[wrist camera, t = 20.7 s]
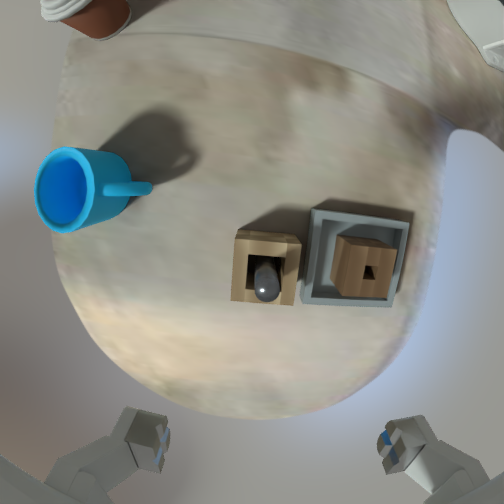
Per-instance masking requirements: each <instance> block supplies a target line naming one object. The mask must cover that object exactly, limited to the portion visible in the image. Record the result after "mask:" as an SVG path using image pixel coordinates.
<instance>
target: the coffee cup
mask: <svg viewBox="0 0 504 504" xmlns="http://www.w3.org/2000/svg"><path fill="white" fill-rule="evenodd" d="M40 3H41V5H42V9H41V15H42V16H43V18H44V19H45V20H46V21H48V22H58V21H61V22H63V23H65V24H67V25H69V26H71V27H72V28H74V29H76V30H78V31H80V32H82V33H84V34H86V35H87V36H89V37H91V38H93V39H94V40H98V41H102V40H107V39H110V38H112V37H113V36H115V35H117V34H118V33H119V32H121V31H122V30H123V29H124V28H125V27H126V25H127V24H128V23H129V21H130V18H131V15H132V11H131V8H130V7H129V5H128V3H127V2H126V0H41V2H40Z"/></svg>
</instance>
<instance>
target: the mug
mask: <svg viewBox="0 0 504 504" xmlns="http://www.w3.org/2000/svg"><path fill="white" fill-rule="evenodd" d="M151 191H152V184H151V183H150V182H141V181H132V179H131V173H130V171H129V168H128V165H127V164H126V163H125V161H124V160H123V159H122V158H121V157H120V156H118V155H116V154H115V153H111V152H105V151H97V150H90V149H81V148H73V147H61V148H58V149H55V150H54V151H52V152H51V153H50V154H49V155H48V156H46V158H45V159H44V161H43V162H42V164H41V165H40V167H39V170H38V173H37V176H36V179H35V187H34V197H35V204H36V207H37V210H38V214H39V215H40V217H41V219H42V220H43V222H44V223H45V224H46V225H47V226H48V227H49V228H50V229H52V230H53V231H56V232H59V233H67V232H73V231H75V230H78V229H81V228H84V227H87V226H90V225H93V224H96V223H99V222H102V221H106V220H109V219H111V218H113V217H115V216H117V215H119V213H120V212H121V211H122V210H123V209H124V208H125V207H126V205H127V203H128V201H129V198H130V196H141V195H148V194H150V193H151Z"/></svg>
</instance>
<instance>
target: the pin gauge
mask: <svg viewBox="0 0 504 504" xmlns="http://www.w3.org/2000/svg"><path fill="white" fill-rule="evenodd" d="M279 294H280V287H279V282H278V277H277V272H276V268H275V263H274V259H273V256H264V255H256V256H255V295H256V297H257V298H258V299H259V300H260V301H263V302H272V301H274V300H275V299H276V298H277V297H278V296H279Z"/></svg>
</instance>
